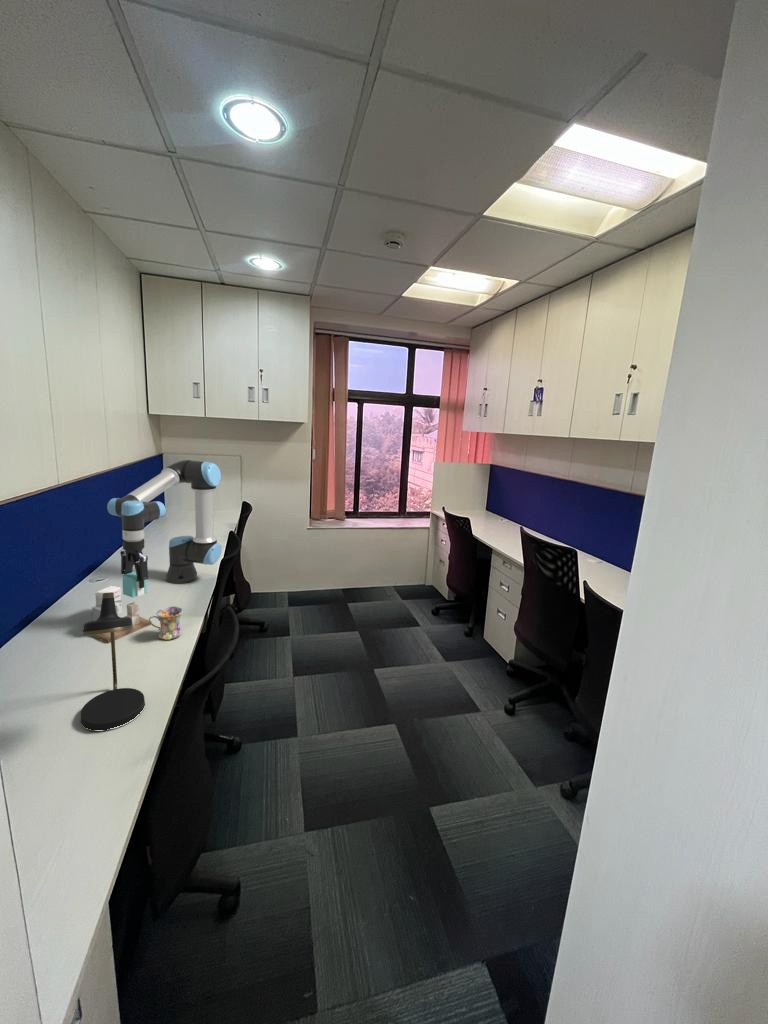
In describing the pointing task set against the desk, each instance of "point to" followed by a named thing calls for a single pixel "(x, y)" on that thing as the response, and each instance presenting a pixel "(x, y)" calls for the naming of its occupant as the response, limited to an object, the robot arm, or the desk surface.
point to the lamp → (117, 702)
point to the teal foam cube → (131, 584)
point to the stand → (131, 612)
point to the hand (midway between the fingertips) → (135, 592)
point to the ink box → (116, 596)
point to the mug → (169, 622)
